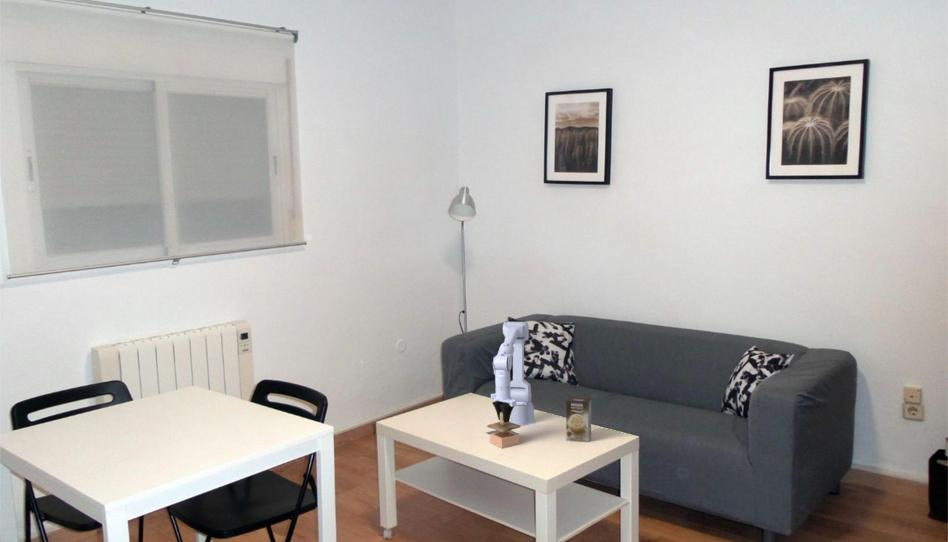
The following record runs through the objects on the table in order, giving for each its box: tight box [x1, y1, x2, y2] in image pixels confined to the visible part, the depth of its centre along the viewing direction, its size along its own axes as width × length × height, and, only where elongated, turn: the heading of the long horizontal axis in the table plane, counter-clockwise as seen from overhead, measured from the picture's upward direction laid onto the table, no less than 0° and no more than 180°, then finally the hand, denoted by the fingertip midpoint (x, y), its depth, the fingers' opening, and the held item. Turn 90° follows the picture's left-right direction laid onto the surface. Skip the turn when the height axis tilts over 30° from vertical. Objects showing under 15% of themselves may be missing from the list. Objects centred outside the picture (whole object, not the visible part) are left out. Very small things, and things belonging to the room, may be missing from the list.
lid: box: [486, 412, 521, 432], centre depth 296 cm, size 9×9×6 cm
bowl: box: [489, 431, 520, 450], centre depth 296 cm, size 8×8×4 cm
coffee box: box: [565, 396, 592, 443], centre depth 300 cm, size 9×6×16 cm
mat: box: [485, 429, 520, 436], centre depth 309 cm, size 10×10×1 cm
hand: (503, 420), depth 296 cm, fingers closed on lid, 3 cm apart
